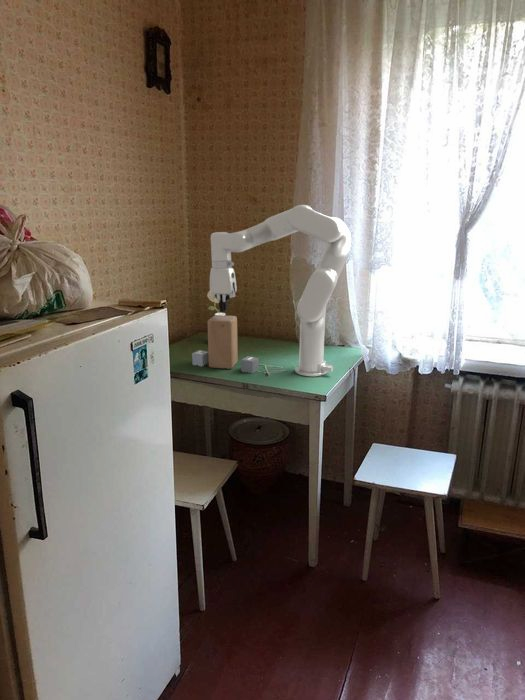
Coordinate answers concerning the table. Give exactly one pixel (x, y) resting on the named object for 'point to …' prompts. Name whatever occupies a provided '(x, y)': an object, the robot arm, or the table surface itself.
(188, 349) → the table surface
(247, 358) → the charcoal block marked 1
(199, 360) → the slate block marked 7
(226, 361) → the wooden block
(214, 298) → the flower in vase
